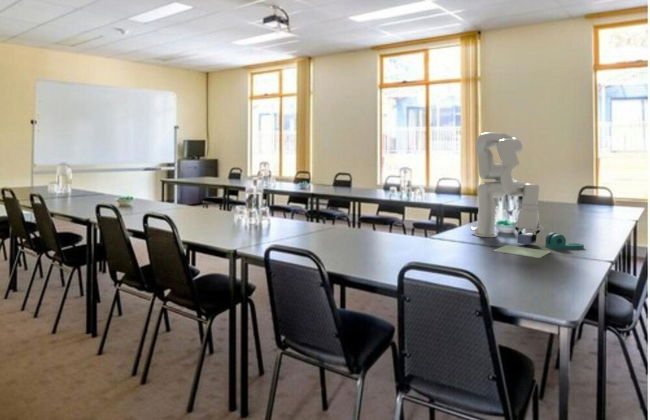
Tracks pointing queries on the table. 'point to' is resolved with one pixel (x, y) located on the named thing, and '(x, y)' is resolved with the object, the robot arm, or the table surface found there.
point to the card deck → (525, 238)
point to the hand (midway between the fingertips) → (526, 240)
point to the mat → (522, 251)
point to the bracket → (560, 242)
